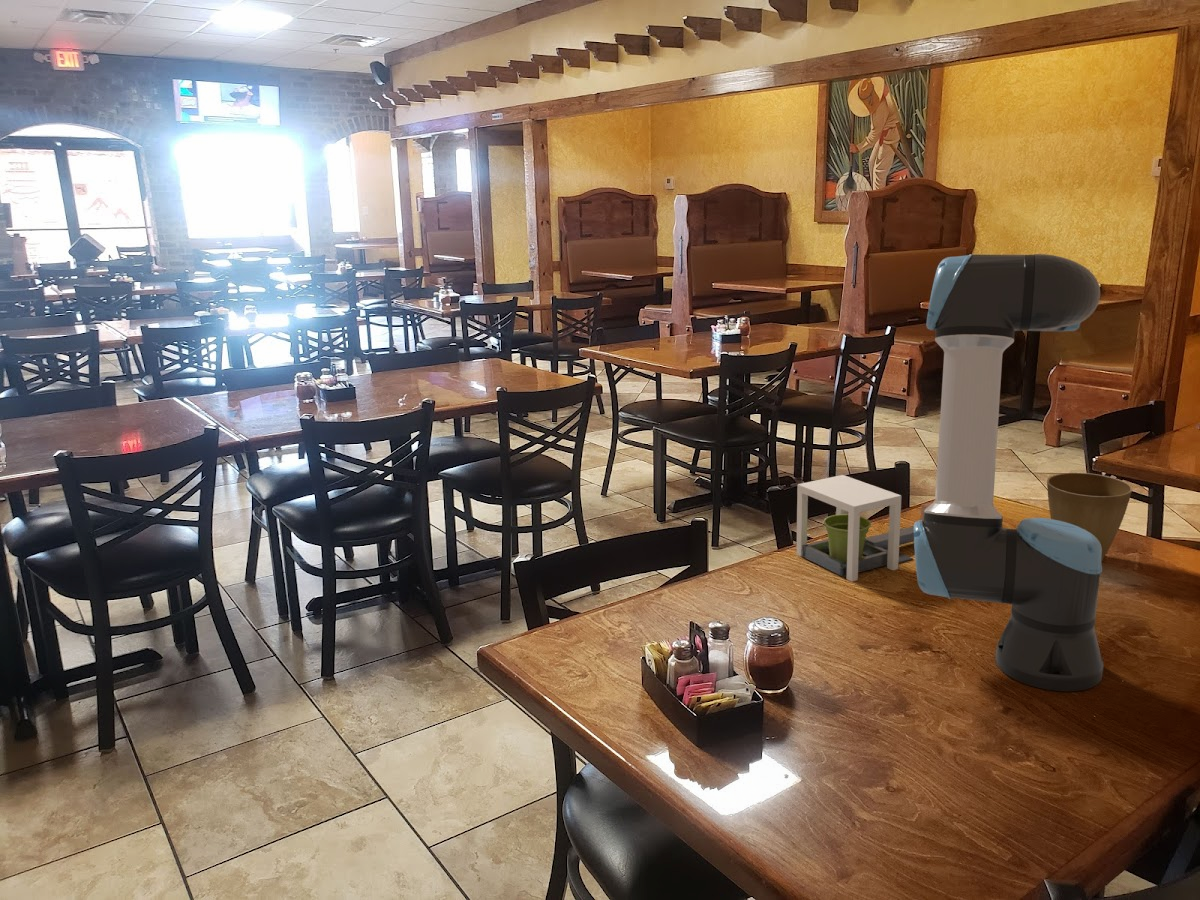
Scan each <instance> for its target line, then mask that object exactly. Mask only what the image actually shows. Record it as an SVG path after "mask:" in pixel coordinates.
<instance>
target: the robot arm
mask: <svg viewBox="0 0 1200 900" xmlns="http://www.w3.org/2000/svg"><path fill="white" fill-rule="evenodd" d="M1100 287H1101V286H1100V284H1099V282H1098V279H1097V277H1096V276H1095V275H1094V273H1092V271H1091V270H1089V269H1088V268H1087V267H1085V266H1083V265H1082V264H1080V263H1079V262H1076V261H1074V260H1072V259H1069V258H1065V257H1062V256H1059V255H1058V256H1057V255H1053V254H1044V253H1042V254H1041V253H1037V254H1036V253H1034V254H972V253H971V254H969V255H968V254H967V255H958V256H947V257H945V258H943V259H942V260H941V261H940V262H939V264H938V266H937V268H936V271H935V275H934V278H933V284H932V289H931V292H930V293H931V294H930V299H929V304H928V312H927V316H926V317H927V318H926V323H925V324H926V328H927V329H928V330H930V331H935V334H934V335H935V336H934V341H935V343H937V345H938V346H939V347H940V348H941V349H942V350H943V366H942V367H943V369H942V383H941V401H940V416H939V432H938V445H937V446H938V447H937V448H938V449H937V462H936V463H937V465H936V477H935V478H936V479H935V494H934V500H933V502H931V503H932V504H931V505H930V506H929V507H927V508H926V509H925V510H924V521H922V520H921V519H919V520H917V521H915V522H914V524H913V526H914V542H913V543H914V544H913V547H914V548H913V549H914V559H915V571H916V578H917V585H918V587H919V589H920V590H921V591H922V592H923V593H924V594H927V595H931V596H936V597H937V596H939V597H943V598H947V599H949V600H950V599H952V598H953V599H954V598H955V599H961V600H962V599H963V600H973V601H981V602H990V603H997V604H1007V605H1011V613H1010V614H1011V615H1010V617H1009V619H1008V621H1007V623H1006V626H1005V627H1004V630H1003V632H1002V634H1001V636H1000V638H999V640H998V642H997V644H996V648H995V649H996V651H995V664H996V666H997V667H998V668H999V669H1000V671H1002V672H1003V673H1004V675H1007V676H1008V677H1009V678H1012V679H1014V680H1015V681H1018V682H1020V683H1023V684H1024V685H1028V686H1030V687H1034V688H1039V689H1043V690H1047V691H1048V690H1049V691H1057V692H1078V691H1085V690H1089V689H1092V688H1094V687H1096V686H1098V684H1100V683H1101V682H1102V679H1103V673H1104V661H1103V660H1104V659H1103V658H1102V655H1101V651H1100V647H1099V642H1098V637H1097V635H1096V631H1095V624H1096V614H1097V606H1098V596H1099V586H1100V577H1101V574H1102V572H1103V566H1102V561H1101V558H1102V548H1101V544H1100V542H1099V541H1098V539H1097V538H1096V537H1095V536H1094V535H1093V534H1091V533H1090V532H1088V531H1086V530H1084V529H1082V528H1080V527H1078V526H1075V525H1073V524H1070V523H1066V522H1062V521H1058V520H1053V519H1051V518H1048V517H1047V518H1046V517H1034V518H1030V517H1029V518H1028V517H1027V518H1024V519H1022V520H1020V521H1019V523H1018V525H1016V528H1006V527H1003V518H1004V516H1003V515H1002V514H1001V513H1000V512H999V510H998V509H997V508H996V507H995V505H994V493H995V477H996V476H995V475H996V461H997V460H996V459H997V445H998V431H999V428H998V427H999V415H1000V397H1001V381H1002V367H1003V365H1002V364H1003V354H1004V352H1005V351H1006V349H1008V348H1009V347H1010V346H1011V345H1012V344H1014V342H1015V332H1018V331H1019V332H1020V331H1021V332H1022V331H1026V332H1027V331H1028V332H1029V331H1030V332H1057V333H1061V332H1074V331H1077V330H1079V328H1080V327H1081V323H1082V322H1084V321H1086V319H1088V318H1089V317H1090V316H1091V315H1092V314H1093V313H1094V312H1095V311H1096V309H1097V307H1098V305H1099V302H1100V298H1101V288H1100Z"/></svg>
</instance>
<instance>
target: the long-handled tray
mask: <svg viewBox="0 0 1200 900" xmlns="http://www.w3.org/2000/svg"><path fill="white" fill-rule="evenodd" d="M932 503H933V502H926V503H922V504H921V505H920V506H921V507H920V508H921V509H920V520H922V521H924V510H925V509H926V508H927V507H929V506H930V505H931V504H932ZM888 534H889V531H887V532H884V533H880V534H876V535H873V536H868V537H866V538H865V543H864V548H863V554H862V555H866V556H862V558H858V573H861V572H865V571H869V570H873V569H876V568H880V567H884V566H887V557H888V549H887V548H888ZM909 543H914V525H913V526H908V527H904V528H900V538H899V546H902V545H905V544H906V545H907V544H909ZM885 549H887V550H885ZM827 553H830V551H829V542H828V538H826V539H823V540H820V541H815V542H810V543H807V544H806V545H803V550H802V556H801V557H802V558H804V559H807V560H808V561H810V562H813V563H814V564H816V565H819V566H820V567H822V568H824V569H827V570H828V571H831V572H833V573H835V574H836V575H837V576H841V577H843V578H844V577H847V562H842V561H840V560H838V559H836V558H834V557H832V556H830V554H827Z"/></svg>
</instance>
